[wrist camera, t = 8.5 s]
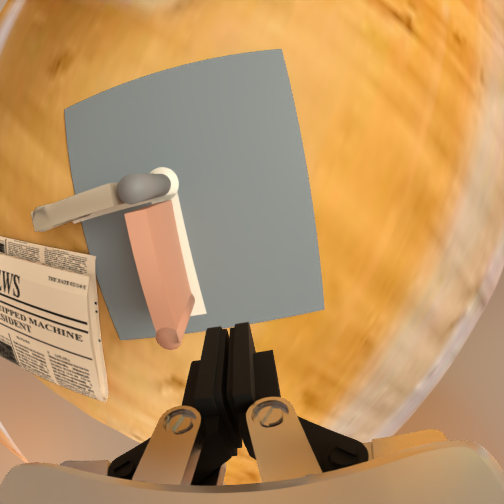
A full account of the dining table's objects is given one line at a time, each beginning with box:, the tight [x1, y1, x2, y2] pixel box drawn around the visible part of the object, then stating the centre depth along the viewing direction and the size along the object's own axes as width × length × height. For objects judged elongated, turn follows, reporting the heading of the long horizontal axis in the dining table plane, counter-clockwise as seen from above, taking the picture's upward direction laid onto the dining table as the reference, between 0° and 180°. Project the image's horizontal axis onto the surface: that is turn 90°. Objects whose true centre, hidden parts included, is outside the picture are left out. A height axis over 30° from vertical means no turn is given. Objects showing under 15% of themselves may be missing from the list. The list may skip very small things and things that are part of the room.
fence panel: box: [117, 174, 195, 350], centre depth 21 cm, size 13×2×7 cm, turn 8°
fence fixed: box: [31, 182, 125, 232], centre depth 20 cm, size 2×8×8 cm, turn 100°
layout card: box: [64, 49, 324, 340], centre depth 25 cm, size 26×24×1 cm
